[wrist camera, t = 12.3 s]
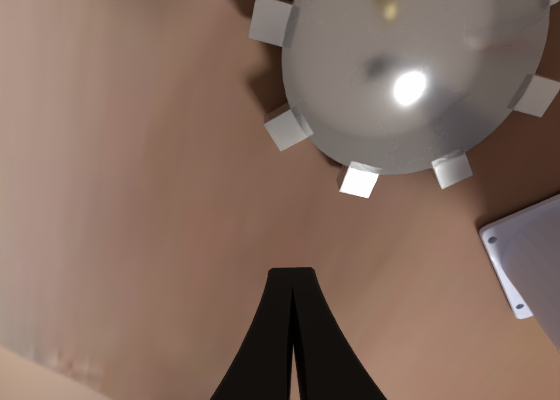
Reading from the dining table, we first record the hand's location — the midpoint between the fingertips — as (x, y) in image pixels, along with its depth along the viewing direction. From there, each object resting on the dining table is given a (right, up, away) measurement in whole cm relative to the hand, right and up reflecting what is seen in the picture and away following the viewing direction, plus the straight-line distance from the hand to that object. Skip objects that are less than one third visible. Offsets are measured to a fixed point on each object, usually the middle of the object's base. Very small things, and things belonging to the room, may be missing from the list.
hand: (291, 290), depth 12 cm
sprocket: (+5, +10, +5) cm, 12 cm away
